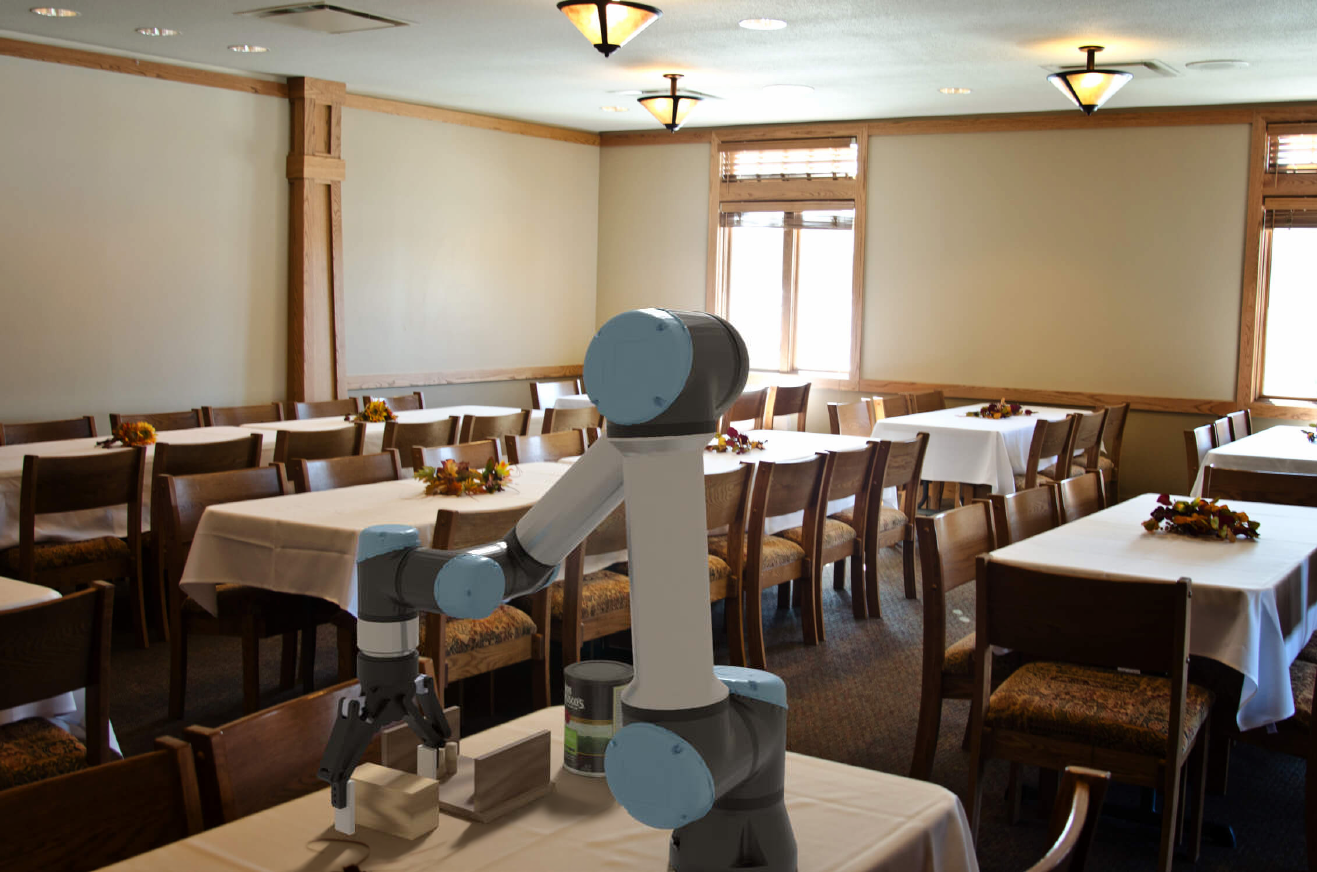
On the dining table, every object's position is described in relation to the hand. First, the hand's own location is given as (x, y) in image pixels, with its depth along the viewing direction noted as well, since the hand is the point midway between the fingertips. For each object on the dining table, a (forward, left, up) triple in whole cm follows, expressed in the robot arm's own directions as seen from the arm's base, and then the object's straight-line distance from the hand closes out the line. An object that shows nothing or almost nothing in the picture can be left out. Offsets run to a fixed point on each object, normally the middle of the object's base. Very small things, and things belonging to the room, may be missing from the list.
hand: (387, 813), depth 149 cm
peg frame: (0, -14, -1) cm, 14 cm away
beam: (0, 0, -1) cm, 1 cm away
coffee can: (-9, -32, -1) cm, 33 cm away
